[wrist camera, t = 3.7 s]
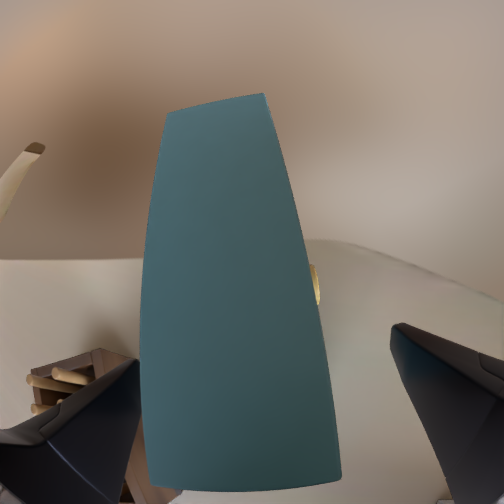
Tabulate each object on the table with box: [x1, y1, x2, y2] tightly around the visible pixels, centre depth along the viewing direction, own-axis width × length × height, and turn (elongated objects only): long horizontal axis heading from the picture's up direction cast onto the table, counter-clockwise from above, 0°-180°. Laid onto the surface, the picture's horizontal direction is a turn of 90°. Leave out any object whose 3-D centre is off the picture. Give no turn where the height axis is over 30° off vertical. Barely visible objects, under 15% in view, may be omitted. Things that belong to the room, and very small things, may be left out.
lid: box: [140, 93, 342, 492], centre depth 11 cm, size 8×4×14 cm, turn 6°
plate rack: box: [26, 348, 182, 504], centre depth 12 cm, size 10×7×6 cm
